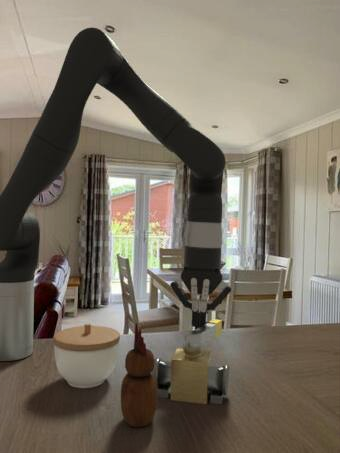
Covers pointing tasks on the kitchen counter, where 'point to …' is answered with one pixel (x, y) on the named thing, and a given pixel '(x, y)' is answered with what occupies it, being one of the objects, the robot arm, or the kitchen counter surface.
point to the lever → (201, 336)
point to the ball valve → (191, 378)
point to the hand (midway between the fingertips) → (198, 328)
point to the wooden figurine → (139, 384)
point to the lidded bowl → (86, 354)
